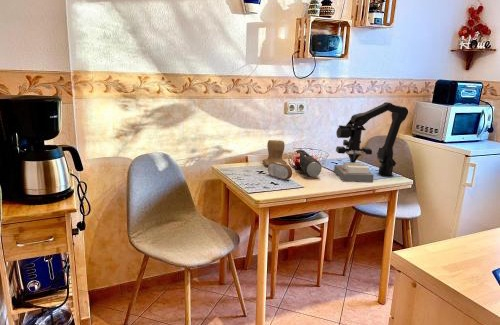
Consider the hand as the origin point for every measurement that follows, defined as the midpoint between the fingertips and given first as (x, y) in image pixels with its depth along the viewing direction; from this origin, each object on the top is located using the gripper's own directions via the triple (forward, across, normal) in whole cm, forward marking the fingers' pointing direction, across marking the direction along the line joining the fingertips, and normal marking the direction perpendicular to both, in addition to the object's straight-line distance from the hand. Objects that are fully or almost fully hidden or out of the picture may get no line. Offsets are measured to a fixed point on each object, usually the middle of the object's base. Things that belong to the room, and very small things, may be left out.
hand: (351, 165), depth 210 cm
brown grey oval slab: (+6, +42, +10) cm, 43 cm away
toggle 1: (+1, 0, +3) cm, 3 cm away
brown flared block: (+6, +42, -18) cm, 46 cm away
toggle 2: (+1, 0, +10) cm, 10 cm away
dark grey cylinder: (+6, +25, -3) cm, 26 cm away
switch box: (+6, 0, +3) cm, 6 cm away
